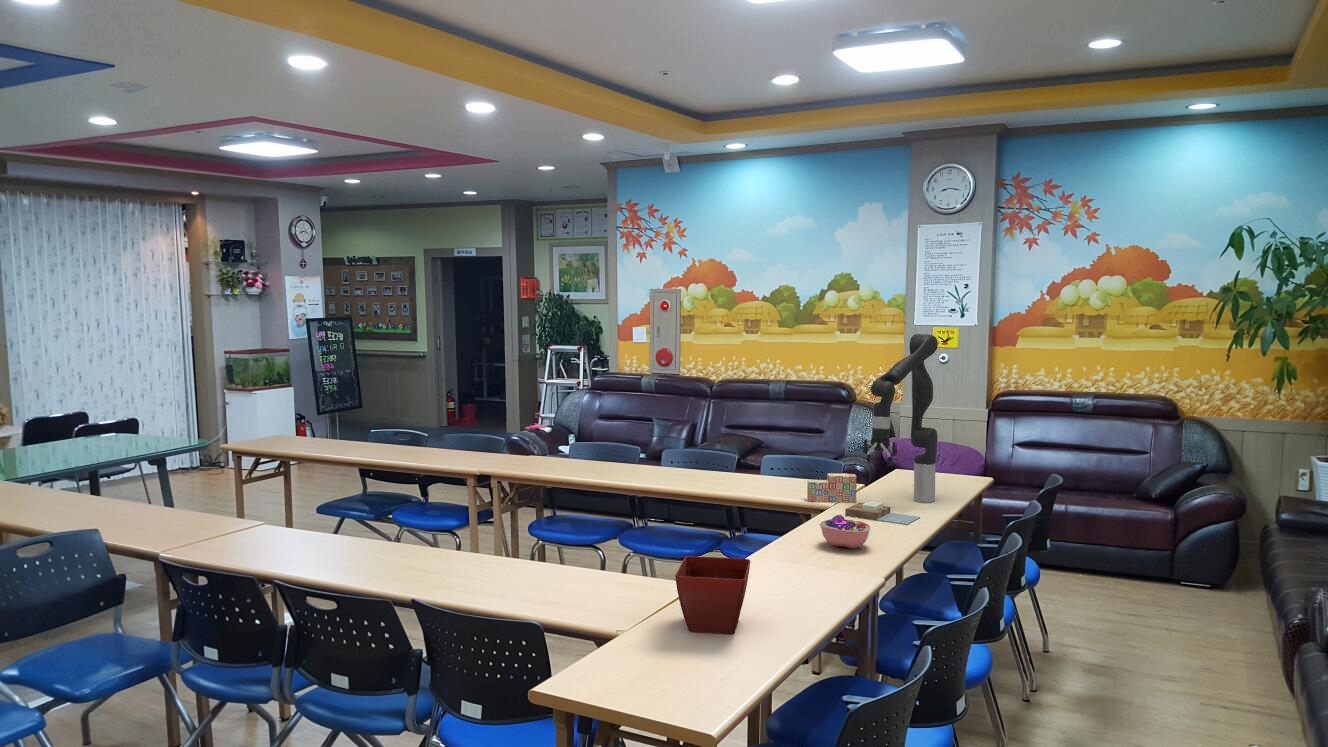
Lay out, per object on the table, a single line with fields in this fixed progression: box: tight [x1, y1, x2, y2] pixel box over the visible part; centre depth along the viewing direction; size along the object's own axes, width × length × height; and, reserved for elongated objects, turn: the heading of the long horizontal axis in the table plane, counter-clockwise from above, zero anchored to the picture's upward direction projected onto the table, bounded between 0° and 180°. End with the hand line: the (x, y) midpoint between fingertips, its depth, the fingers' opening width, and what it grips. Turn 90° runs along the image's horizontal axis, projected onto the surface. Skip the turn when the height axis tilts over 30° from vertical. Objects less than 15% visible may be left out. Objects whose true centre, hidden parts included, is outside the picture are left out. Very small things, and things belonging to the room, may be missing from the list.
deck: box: [844, 502, 891, 522], centre depth 377 cm, size 14×14×3 cm
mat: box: [876, 512, 921, 526], centre depth 369 cm, size 14×13×1 cm
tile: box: [862, 501, 884, 511], centre depth 376 cm, size 8×6×2 cm
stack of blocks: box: [806, 472, 858, 504], centre depth 403 cm, size 21×6×12 cm, turn 85°
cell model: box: [819, 514, 871, 549], centre depth 328 cm, size 17×20×11 cm
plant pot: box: [675, 555, 751, 635], centre depth 249 cm, size 19×19×17 cm
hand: (879, 464), depth 384 cm, fingers open, 8 cm apart
